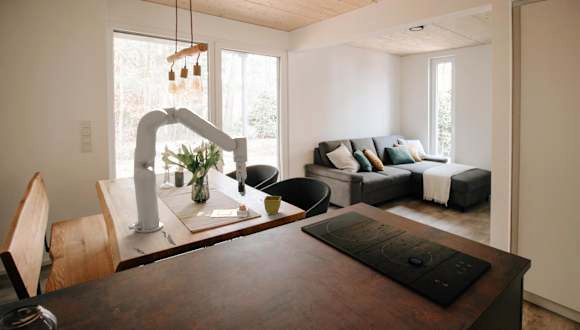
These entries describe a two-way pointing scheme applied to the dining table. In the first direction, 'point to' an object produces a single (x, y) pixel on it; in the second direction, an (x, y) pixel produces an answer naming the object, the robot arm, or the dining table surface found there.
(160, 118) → the robot arm
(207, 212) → the coaster
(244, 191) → the marker
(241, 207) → the button
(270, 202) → the flower pot
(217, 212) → the board
